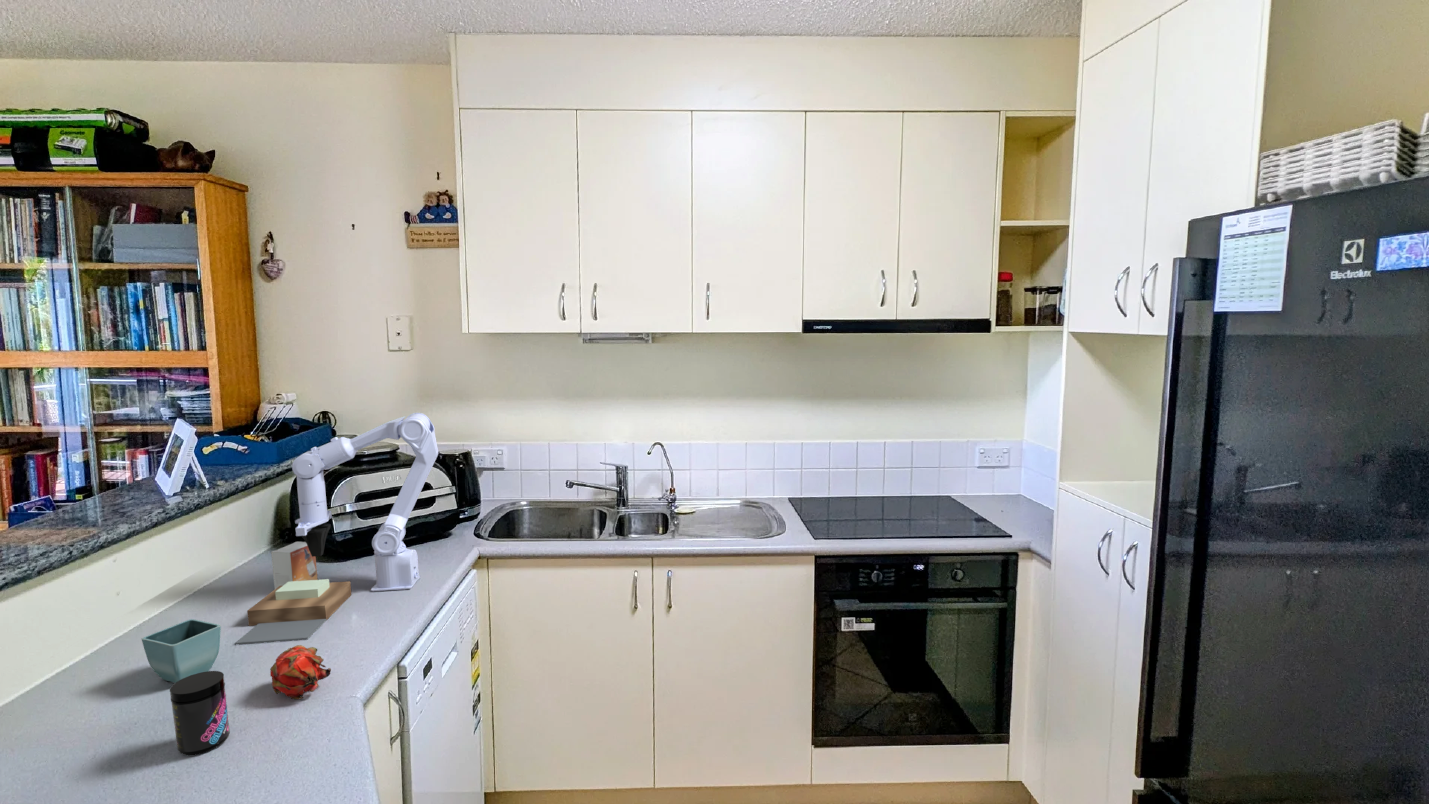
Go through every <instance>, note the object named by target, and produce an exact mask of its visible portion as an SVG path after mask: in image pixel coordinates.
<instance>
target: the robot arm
mask: <svg viewBox="0 0 1429 804" xmlns="http://www.w3.org/2000/svg"><path fill="white" fill-rule="evenodd" d="M436 437H437V436H436V430H435V426H434V424H433V423H432V421H431V419H430V418H429V417H428V416H427V415H426V414H425V413H422V412H413V413H410V414H409V415H408V416H407V417H406V415H405V416H402V417H401V416H400V417H398V418H395V419H393V420H389V421H387V422H384V423H382V424H380V425H378V426H376V427H374V428H372V429H369V430H368V431H365V432H363V433H361V434H359V435H357V436H355V437H352V438H349V437H344V436H341V437H338V436H335V437H333V438H330V442H328V443H325V444H323V445H320V446H318V447H317V446H314V447H312V448H310V450H307V451H306V452H304V453H302V454H300V455H299V456H297V457H296V458H295V459H294V460H293V462H292V466H291V469H292V473H293V474H294V475H295V476H296V487H297V488H296V489H297V499H298V507H299V508H298V510H299V518H297V519H295V520H294V523H295V524H296V525H297V526H296V527H295V536H296V537H301V538H302V539H303V540H304V542H306V544H307V546H308V548H309V551H310V553H311V555H312V557H314V556H316V557H322V555H324V551H325V546H326V540H327V536H328V534H329V531H330V529H331V527H332V526H331V523H327V522H329V520H330V519H332V518H333V516H332V515H333V514H332V510H328V506H327V505H328V503H327V496H326V482H325V477H324V476H325V475H324V470H329V469H331V468H334V467H336V466H338V465H340V464H343V463H345V462H347V461H350V460H353V459H354V458H355V456H356V453H357V451H359V450H362V449H364V448H366V447H368V446H372V445H374V444H376V443H379V442H382V441H383V440H386V439H391V440H398V441H399V440H400V438H401V439H402V440H403V441H404V442H406V443H407V444H408V445H409V446H410V448H411V449H412V451H413V453H414V455H415V459H414V461H413V463H412V465H411V467H410V469H409V471H408V474H407V475H406V478H405V480H404V482H403V484H402V487H401V488H400V490H399V492H398V495H397V497H396V499H395V500H394V503H393V506H392V507H391V509H390V512H389V514H388V516H387V518H386V520H385V522H383V523H382V524H381V525H380V526H379V528H378V531H377V532H376V534H374V536H373V538H372V539H371V546H372V549H373V550H374V551H373V553H374V554H373V555H374V565H375V579H376V583H375V584H374V586H372V587H371V589H370V592H382V591H383V592H384V591H398V590H411V589H412V588H413V586H414V585H416V583H417V581H418V580H419V579H420V577H421V575H420V573H419V561H418V560H419V557H418V552H417V550H416V549H412V548H411V549H410V548H407V546H406V544H405V543H404V541H403V539H404V538H405V537H406V536H405V535H406V532H407V531H406V524H407V522H408V520H409V518H410V515H411V514H412V511H413V510H414V507H415V505H416V503H417V500H418V498H419V496H420V494H421V492H422V490H423V488H424V485H425V483H426V481H427V480H428V476H429V475H430V473H431V471H432V469H433V466H434V465H435V462H436V460H437V458H438V456H439V448H438V443H437V438H436Z"/></svg>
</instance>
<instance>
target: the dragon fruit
mask: <svg viewBox="0 0 1429 804" xmlns="http://www.w3.org/2000/svg"><path fill="white" fill-rule="evenodd" d="M317 652H318V648H316V647H314V646H310V647H305V645H302V644H297V645H295V646H293V647H288V649H287V650H284V651H283V652H281V653H280V654H279V655H278V656H277V657H276V659H275V662H274V664H273V665H272V666H270V669H269V670H270V672H269V673H270V674H269V675H270V677H271V686H272V690H273V691H274V693H275V694H277V695H279V694H281V693H283V694H284V695H285V697H288V698H290V700H301V699H304V697H303V695H304V692H305V693H308V692H309V693H313V692H314V691H315V690H316V689H317V688H318V687H319V681H322V680H325V679H326V678H328V677H329V676H330V675H331V672H332V669H331V667H328V668H326V665H325V664H322V663H323V662H324V658H323V657H322V656H320V655H317ZM322 667H323V668H322Z"/></svg>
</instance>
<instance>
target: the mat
mask: <svg viewBox="0 0 1429 804" xmlns="http://www.w3.org/2000/svg"><path fill="white" fill-rule="evenodd" d="M326 621H327V620H326V619H316V620H302V621H287V622H273V623H259V624H257V625H255V626H253V627H252V628H251V629H250V630H249V631H247V632H246V633H245V634H243V636H242V637H240V638H239V639H238V640H237V641H236V642H235V643H234V645H235V646H237V645H236V644H239V645H246V644H247V645H250V644H253V645H254V644H263V643H264V642H267V643H274V641H280V642H293V641H292V640H294V641H303V640H306V639H307V640H309V639H308V638H311V637H312V636H313V635H314V634H315V633H316V632H317V631H318V629H320V627H322V626H323V624H324V623H326ZM313 633H314V634H313ZM311 635H312V636H311ZM310 636H311V637H310ZM307 640H306V641H307ZM264 644H265V643H264Z"/></svg>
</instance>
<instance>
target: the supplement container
mask: <svg viewBox="0 0 1429 804" xmlns="http://www.w3.org/2000/svg"><path fill="white" fill-rule="evenodd" d="M226 693H227V692H226V682H225V674H224V673H223V672H222V671H219V670H209V671H207V672H201V673H197V674H193V675H190V676H188V677H185V678H183V679H181V680H179V681H177V682H176V683H174V682H173V684H172V685H171V686H170V688H169V694H170V702H171V709H172V716H173V724H174V732H175V742H176V749H177V751H178V753H179V754H181V755H183V756H187V755H188V756H198V755H201V754H202V755H203V754H206V753H208V752H211V751H213V750H215V749H217V748H218V747H220V746H221V745H223V744H224V743H225V742H226V741H227V740H228V738H229V736H230V733H231V729H230V720H229V711H228V704H227V703H228V702H227V694H226Z"/></svg>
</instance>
